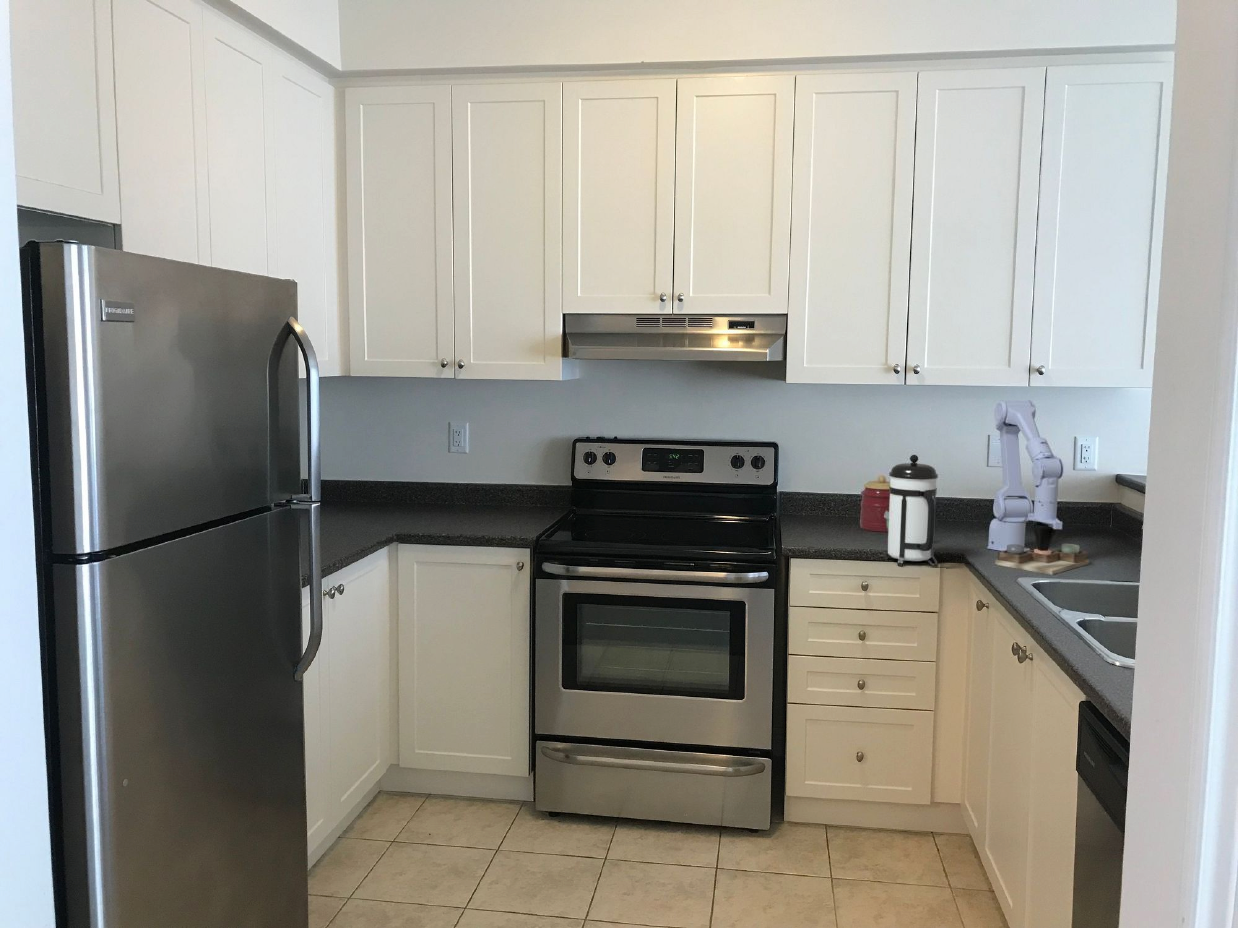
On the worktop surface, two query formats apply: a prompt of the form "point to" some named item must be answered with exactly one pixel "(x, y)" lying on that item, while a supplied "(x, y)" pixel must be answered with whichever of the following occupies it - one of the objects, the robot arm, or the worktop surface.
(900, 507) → the coffee press
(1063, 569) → the button panel
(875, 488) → the canister
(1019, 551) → the charcoal button
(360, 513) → the worktop surface
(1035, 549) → the terracotta button
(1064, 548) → the sage button
